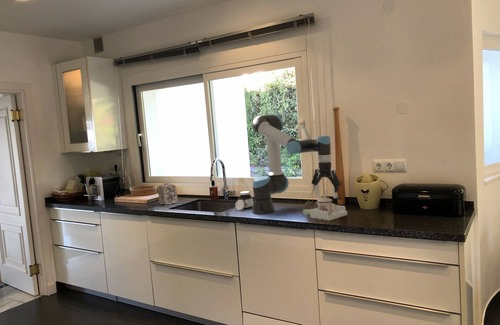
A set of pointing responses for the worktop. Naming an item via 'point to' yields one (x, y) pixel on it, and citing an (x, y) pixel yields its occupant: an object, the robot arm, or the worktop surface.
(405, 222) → the worktop surface
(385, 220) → the worktop surface
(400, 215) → the worktop surface
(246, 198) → the spread jar
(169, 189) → the decorative jar
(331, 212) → the teacup with lid
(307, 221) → the worktop surface
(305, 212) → the clip
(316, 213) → the end holder
